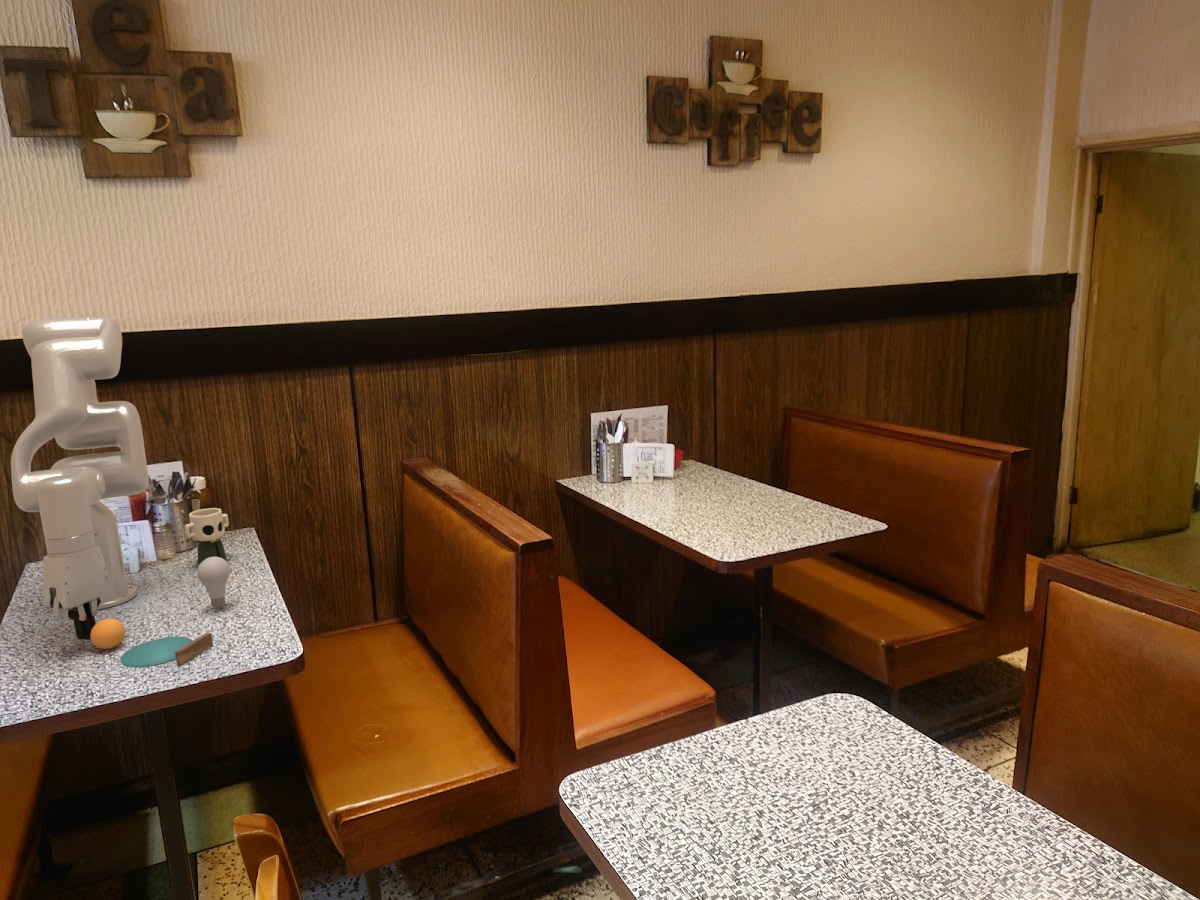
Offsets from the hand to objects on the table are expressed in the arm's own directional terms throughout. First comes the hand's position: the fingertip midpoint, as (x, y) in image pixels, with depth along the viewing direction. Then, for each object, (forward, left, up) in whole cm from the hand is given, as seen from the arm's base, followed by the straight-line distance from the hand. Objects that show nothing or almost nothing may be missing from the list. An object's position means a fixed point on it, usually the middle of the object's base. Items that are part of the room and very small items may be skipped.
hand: (87, 637), depth 154 cm
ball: (+4, 0, +1) cm, 5 cm away
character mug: (-9, +44, -2) cm, 45 cm away
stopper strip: (+23, 0, -2) cm, 23 cm away
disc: (+15, 0, -2) cm, 15 cm away
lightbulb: (+12, +20, -2) cm, 24 cm away
